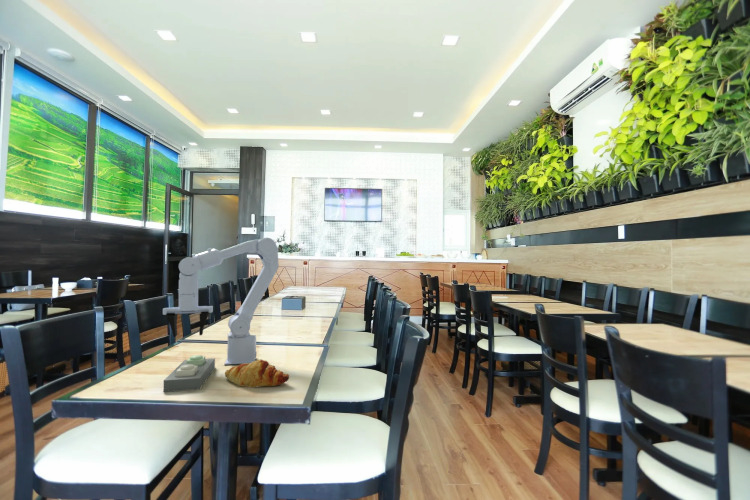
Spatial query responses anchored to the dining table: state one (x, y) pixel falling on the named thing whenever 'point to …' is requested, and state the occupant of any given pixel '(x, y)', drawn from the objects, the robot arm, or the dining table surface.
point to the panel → (189, 377)
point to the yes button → (196, 360)
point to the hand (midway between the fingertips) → (188, 335)
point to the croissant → (256, 374)
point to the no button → (187, 370)
